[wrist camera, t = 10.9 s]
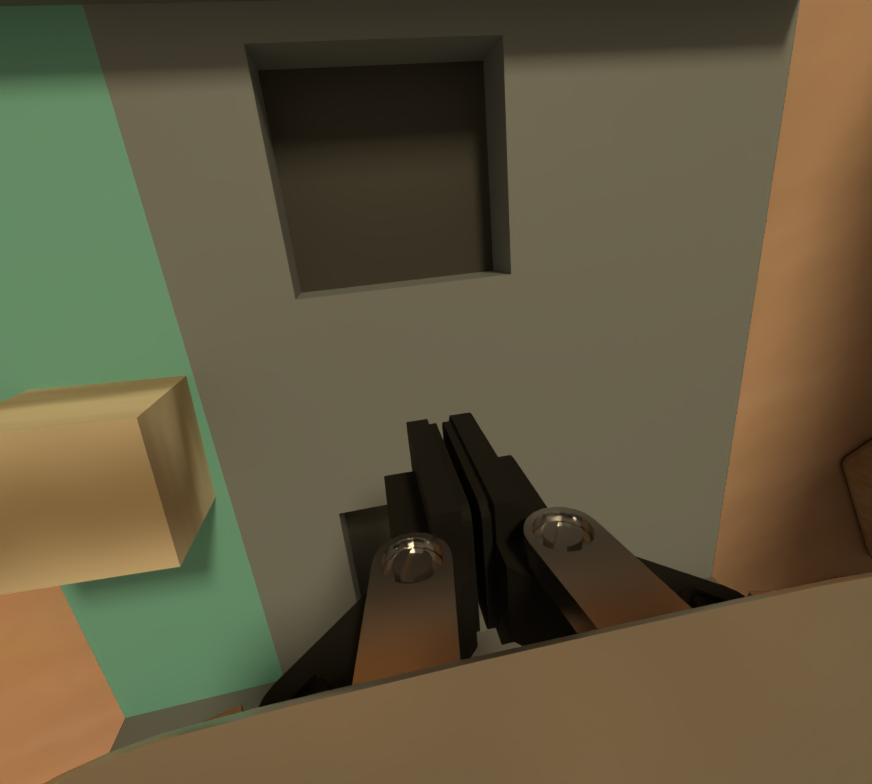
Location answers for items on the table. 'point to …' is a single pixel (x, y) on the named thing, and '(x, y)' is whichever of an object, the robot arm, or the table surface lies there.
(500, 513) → the robot arm
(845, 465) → the wooden block
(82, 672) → the table surface
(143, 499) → the block
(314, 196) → the board
